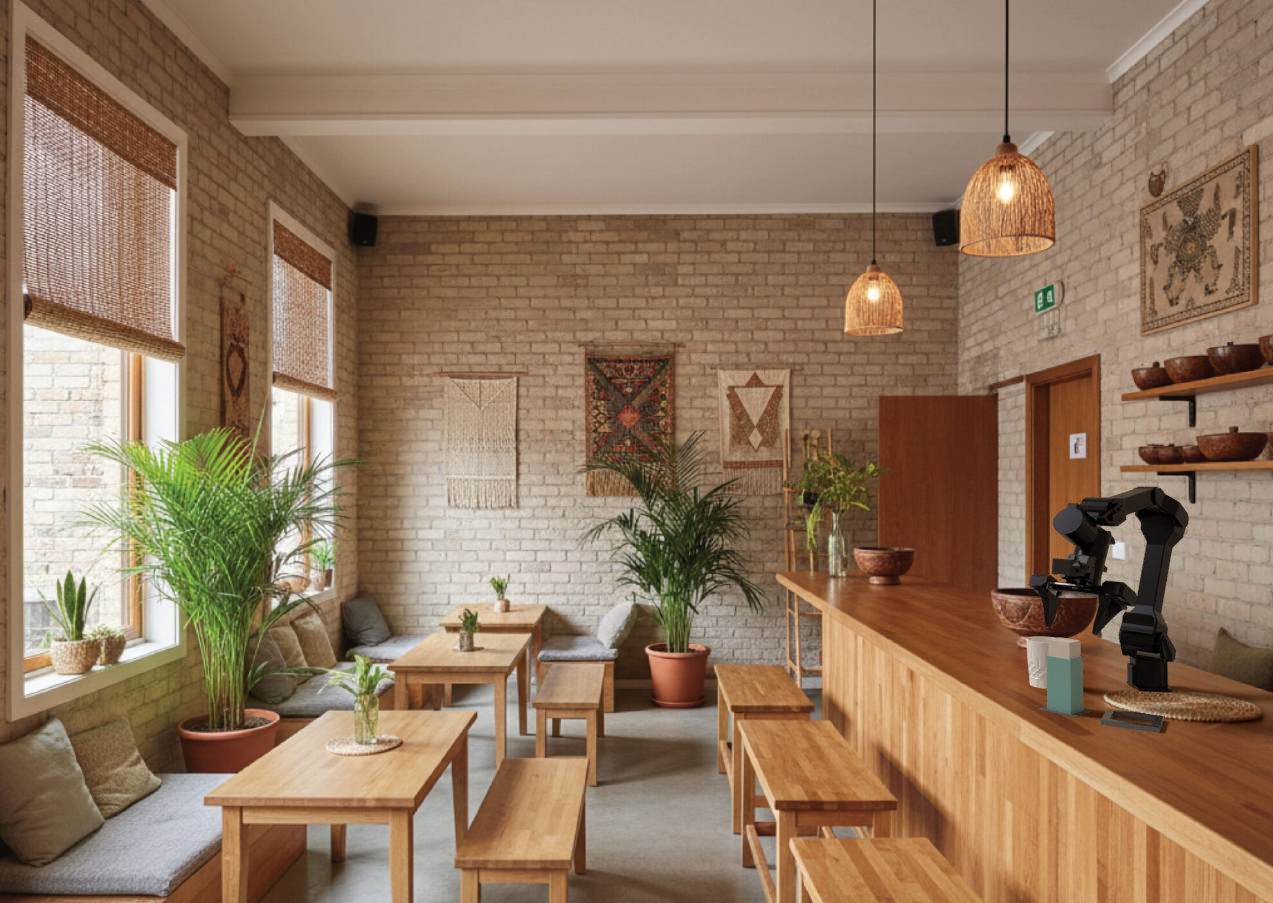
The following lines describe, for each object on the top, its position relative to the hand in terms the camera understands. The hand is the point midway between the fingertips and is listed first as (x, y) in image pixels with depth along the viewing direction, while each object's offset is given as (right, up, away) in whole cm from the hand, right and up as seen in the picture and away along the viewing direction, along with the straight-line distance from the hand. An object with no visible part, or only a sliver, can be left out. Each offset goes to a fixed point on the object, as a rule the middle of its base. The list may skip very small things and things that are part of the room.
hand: (1070, 630), depth 167 cm
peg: (-3, -14, -4) cm, 15 cm away
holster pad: (-3, -15, -4) cm, 15 cm away
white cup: (+3, -15, +16) cm, 22 cm away
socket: (+5, -14, -12) cm, 19 cm away
